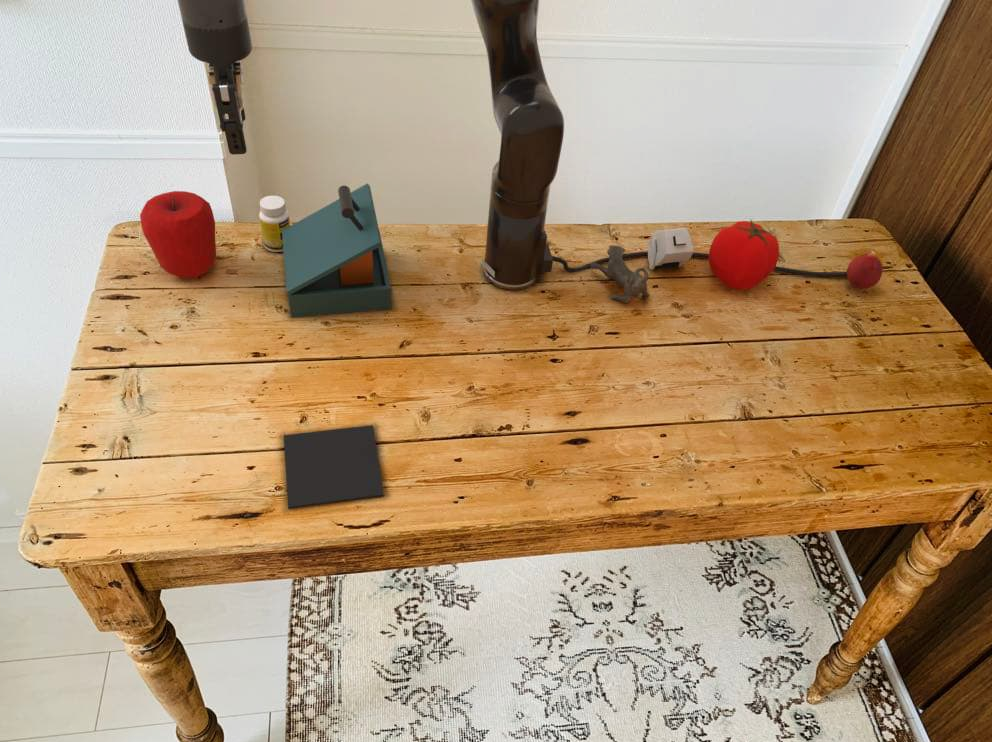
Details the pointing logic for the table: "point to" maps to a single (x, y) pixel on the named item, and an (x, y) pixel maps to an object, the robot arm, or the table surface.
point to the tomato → (743, 255)
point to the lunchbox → (344, 293)
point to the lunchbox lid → (330, 238)
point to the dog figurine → (624, 275)
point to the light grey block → (669, 248)
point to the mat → (331, 466)
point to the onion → (864, 271)
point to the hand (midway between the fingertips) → (238, 136)
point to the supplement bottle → (273, 222)
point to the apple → (180, 232)
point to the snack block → (358, 271)
